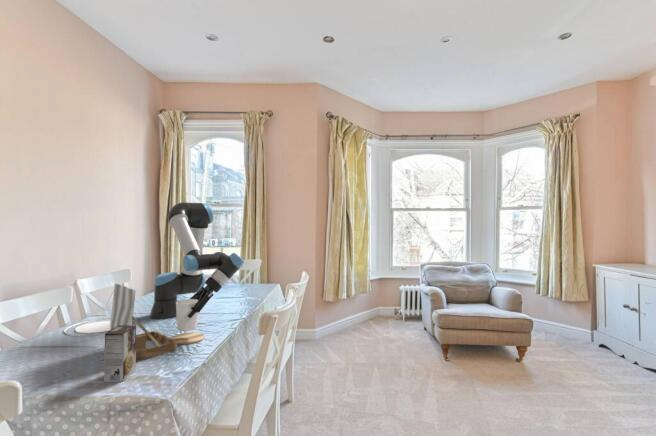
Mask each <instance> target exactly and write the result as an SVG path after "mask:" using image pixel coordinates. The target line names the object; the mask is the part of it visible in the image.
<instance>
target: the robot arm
mask: <svg viewBox="0 0 656 436" xmlns="http://www.w3.org/2000/svg"><path fill="white" fill-rule="evenodd" d="M167 221H168V224H169V226H170V227H171V228H172V229H173V231H174V234H175V235H176V238H177V241H178V242H179V245H180V247H181V250H182V252H183V254H184V257H183V258H182V269H181V270H180V273H179V274H178V272H175V271H172V272H169V271H168V272H164V273H160V274H158V275H156V276H155V277H154V283H153V285H154V288H153V289H154V293H153V295H154V297H153V298H154V299H153V305H152V307H151V310H150V314H149V315H150V316H149V317H150V318H152V319H159V320H160V319H170V318H175V317H176V318H177V313H176V302H177V301H178V296H179V295H189V294H193V295H192V296H191V297H190V298H189V299H197V300H198V301H197V303H196V304H195V306H194V307H192V308H191V310H190V311H189V312H188V313H187V314H186V315H185V316H184V317H183V318H182V319H181V320H180V322H182V323H183V324H184V325H185V324H186V323H187V322H188V321H189V320H190V319H191V318H192V317H193V316H194V315H195V314H196V313H197V312H198V314H199V313H200V312H201V311H202V309H203V308H204V307H205V305H207V303H209V301H210V299H212V298H213V297H214V293H218V292H220V291H221V289H222V288H223V287H222V286H224V285H226V284H228V283H229V282H228V281H229V280H230V279H231V278H232V277H233V276H234V275H235V274H236V273H237V272H238V271H239V270H240V269H241V267H242V266H243V264H244V263H245V262H244V259H243V258H242V257H241V256H240V254H237V253H236V252H233V253H231V254H230V255H228V254H226V253H225V252H223V251H216V252H214V253H203V250H204V249H203V248H204V239H205V232H206V230H207V229H208V228H209V225H211V224H212V223H213V221H214V211H213V209H212V206H211V205H210V203H209V204H208V203H202V202H178V203H176V204H174V205H173V206H171V208H170V210H169V212H168V214H167ZM205 270H207V271H209V270H214V272H213V273H212V274H211V276H209V277H207V279H206V276H205V273H204V272H203V271H205ZM205 285H206V286H205ZM213 292H214V293H213Z"/></svg>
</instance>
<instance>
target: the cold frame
mask: <svg viewBox="0 0 656 436" xmlns="http://www.w3.org/2000/svg"><path fill="white" fill-rule="evenodd" d="M136 291H137V290H136V289H134V288H131V287H128V286H125V285H122V284H119V283H117V282H115V283H114V287H113V296H112V306H111V315H110V318H111V319H110V320H109V321H110V328H111V330H112V329H113V328H115V327H117V326H119V325H130V326H133V321H134V323H135V324H136V326H138V327H139V328H140V329H141V330H142V331H143V332H142V333H139V334H138V333H137V334H136V362H138V361H143V360H145V359H149V358H153V357H156V356H160V355H163V354H164V355H165V354H168V353H172V352H174V351H177V350H178V347H177V346H178V345H177V341H175V340H173V339H171V337H169V336H167V335H165V334H163V333H161V332H159V331H157V330H152V331H148V330H147V329H146V328H145V326H143V325H142V323H140V321H139V320H137V318H136V317H135V316H134V310H135V308H134V307H135V301H136ZM149 341H152V342H153V343H154V344H155V346H151V347H147V342H149Z"/></svg>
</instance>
